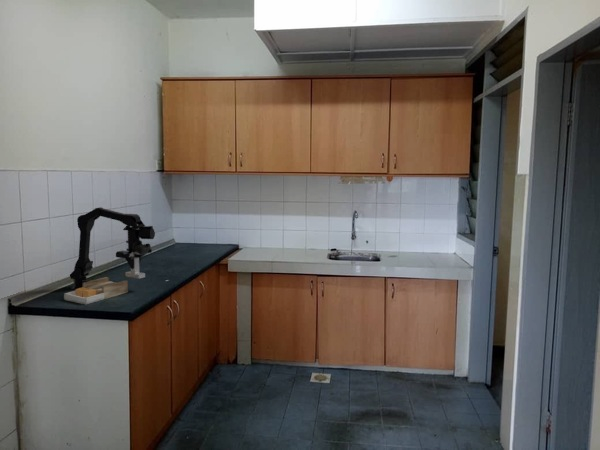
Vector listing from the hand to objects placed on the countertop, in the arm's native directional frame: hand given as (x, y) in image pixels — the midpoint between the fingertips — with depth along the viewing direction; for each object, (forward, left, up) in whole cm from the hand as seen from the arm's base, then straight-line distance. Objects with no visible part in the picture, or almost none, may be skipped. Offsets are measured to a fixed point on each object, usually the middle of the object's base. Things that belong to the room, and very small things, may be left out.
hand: (134, 268), depth 224 cm
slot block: (-8, -12, -12) cm, 18 cm away
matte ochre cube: (-11, -21, -9) cm, 25 cm away
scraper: (0, 0, -4) cm, 4 cm away
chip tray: (-8, -24, -12) cm, 28 cm away
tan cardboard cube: (-5, -21, -9) cm, 23 cm away
